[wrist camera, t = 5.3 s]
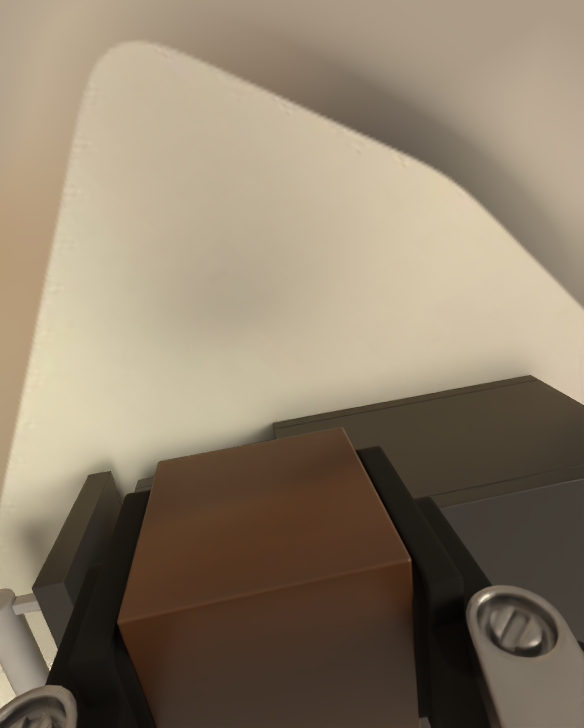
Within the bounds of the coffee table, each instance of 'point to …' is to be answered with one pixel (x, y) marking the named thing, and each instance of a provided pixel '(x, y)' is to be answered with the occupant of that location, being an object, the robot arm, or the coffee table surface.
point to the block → (271, 592)
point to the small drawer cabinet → (490, 476)
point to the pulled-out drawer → (59, 580)
